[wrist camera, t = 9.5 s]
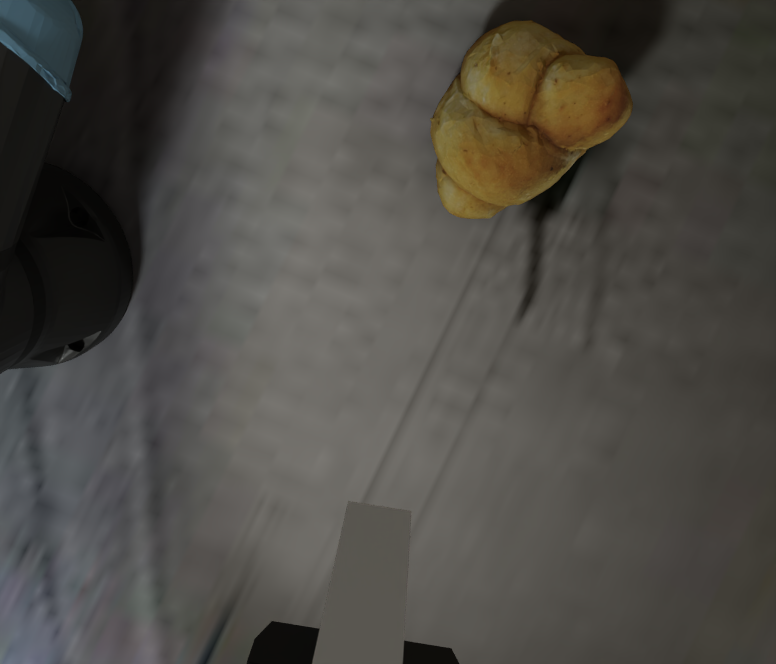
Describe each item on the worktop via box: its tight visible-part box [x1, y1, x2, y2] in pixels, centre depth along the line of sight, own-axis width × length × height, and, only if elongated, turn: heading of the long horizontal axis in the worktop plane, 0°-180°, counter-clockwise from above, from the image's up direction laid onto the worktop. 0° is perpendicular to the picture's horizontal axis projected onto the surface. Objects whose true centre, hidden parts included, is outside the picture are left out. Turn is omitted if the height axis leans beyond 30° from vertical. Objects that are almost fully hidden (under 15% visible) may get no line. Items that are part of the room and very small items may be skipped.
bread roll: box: [430, 20, 633, 219], centre depth 42 cm, size 13×10×8 cm
